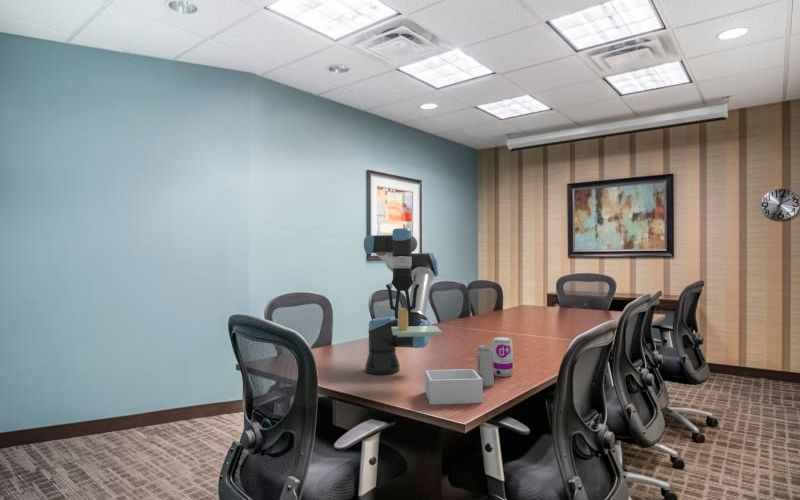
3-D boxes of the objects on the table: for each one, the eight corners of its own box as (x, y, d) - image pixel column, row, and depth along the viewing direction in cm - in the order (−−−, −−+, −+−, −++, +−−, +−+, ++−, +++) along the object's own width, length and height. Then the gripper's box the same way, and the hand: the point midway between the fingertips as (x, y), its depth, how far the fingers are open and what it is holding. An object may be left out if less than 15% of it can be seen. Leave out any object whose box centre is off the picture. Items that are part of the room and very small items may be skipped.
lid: (393, 337, 171) (392, 311, 171) (391, 331, 186) (391, 307, 186) (441, 336, 172) (441, 310, 172) (436, 330, 187) (436, 306, 187)
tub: (430, 404, 152) (429, 380, 152) (425, 392, 166) (424, 370, 166) (482, 402, 153) (482, 379, 153) (473, 390, 167) (473, 368, 167)
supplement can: (513, 377, 184) (512, 340, 185) (492, 376, 186) (492, 340, 186) (512, 372, 192) (511, 337, 193) (492, 371, 194) (492, 336, 194)
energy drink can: (476, 383, 176) (475, 345, 177) (491, 383, 177) (490, 344, 177) (479, 388, 170) (479, 348, 171) (495, 387, 171) (495, 347, 171)
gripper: (382, 268, 175) (383, 329, 175) (422, 267, 176) (423, 328, 175) (382, 267, 182) (383, 326, 182) (420, 267, 183) (421, 325, 183)
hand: (402, 326), depth 179 cm, fingers closed on lid, 2 cm apart
